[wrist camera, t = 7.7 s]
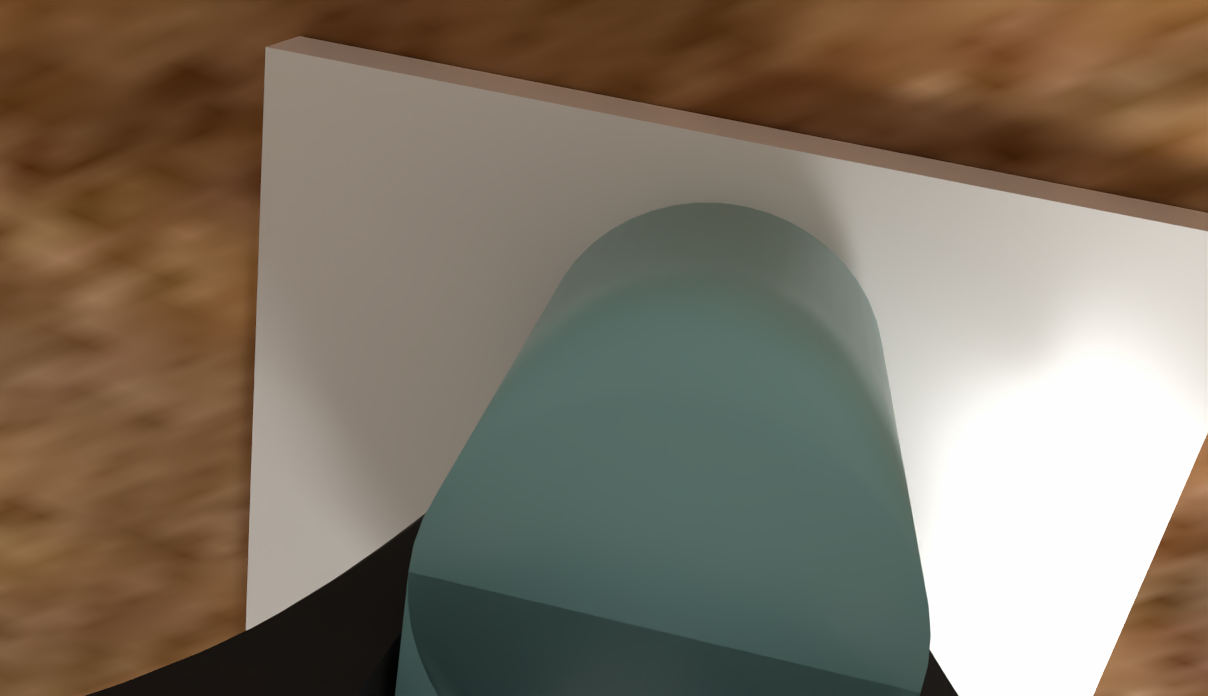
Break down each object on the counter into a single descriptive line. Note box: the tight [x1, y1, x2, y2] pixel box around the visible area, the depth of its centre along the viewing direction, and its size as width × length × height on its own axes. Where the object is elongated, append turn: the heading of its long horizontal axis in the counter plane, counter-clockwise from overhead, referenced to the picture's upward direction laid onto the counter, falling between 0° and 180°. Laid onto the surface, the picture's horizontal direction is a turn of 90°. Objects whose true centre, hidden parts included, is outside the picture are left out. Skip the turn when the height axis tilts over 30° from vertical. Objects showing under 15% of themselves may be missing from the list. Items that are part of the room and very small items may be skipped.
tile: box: [246, 36, 1208, 696], centre depth 16 cm, size 12×12×1 cm
